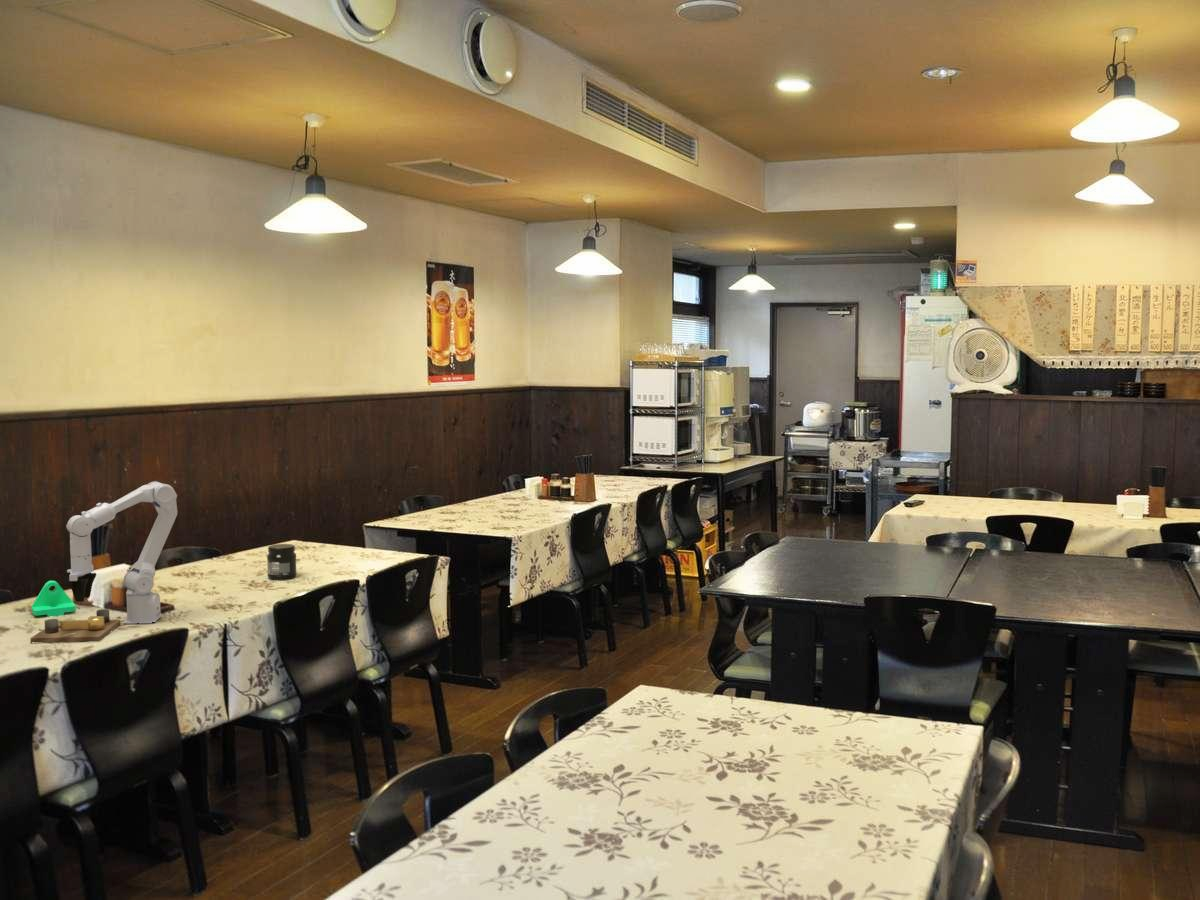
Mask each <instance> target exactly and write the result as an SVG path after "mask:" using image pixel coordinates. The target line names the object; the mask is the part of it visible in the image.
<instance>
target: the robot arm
mask: <svg viewBox="0 0 1200 900" xmlns="http://www.w3.org/2000/svg"><path fill="white" fill-rule="evenodd" d="M177 498H178V493H176V491H175V489H174V488H173V486H171V485H170V484H167V483H161V482H159V481H157V480H154V481H151V482H148V483H147V484H144V485H141V486H140V487H138V488H136V489H135V490H132V491H131V492H129V493H127V494H126V495H124V496H122V497H120V498H119V499H117V500H115V501H113V502H111V503H108V502H103V503H102V502H98V503H96V505H95V506H94V507H93V508H91V509H89V510H85V511H84V510H83V511H81V512H80V513H81V515H80V514H79V515H77V514H76V515H73V516H71V517H70V518H69V520H68V521H67V524H66V525H65V527H66V529H67V531H68V532H69V546H70V547H69V552H70V568H69V569H67V570H66V573H70V574H69V576H68V577H69V578H68V579H67V580H66V581H67V582H66V583H67V585H69V587H70V589H71V591H72V594H73V597H74V600H75V602H76V603H82V602H84V600H85V598H87V599H88V598H90V597H91V595H92V594H91V593H92V589H93V584H94V581H95V579H96V577H97V572H95V571H94V564H93V563H92V561H93V560H92V559H93V558H92V556H93V555H92V539H91V534H92V532H93V530H94V529H97V528H98V527H99V528H100V527H101V526H103V525H105V524H107V523H108V522H110V521H112V520H114V519H115V517H116V515H117V513H119V512H122V511H124V510H126V509H127V508H131V507H133V506H134V505H137V504H139V503H151V504H153V507H154V508H155V510H156V512H157V517H156V519H155V520H154V523H153V525H152V528H151V530H150V532H149V535H148V537H147V539H146V541H145V544H144V546H143V547H142V549H141V553H140V555H139V557H138V560H137V561H136V562H135V563H133V564H132V566H131V568H130V569H129V571H128V572H126V573H125V575H124V576H123V580H122V581H123V585H124V586H125V588H126V589H127V590H126V592H125V593H126V594H125V595H126V614H127V615H126V619H125V620H124V621H123V622H122V624H124V625H126V624H127V625H128V624H129V625H133V624H135V625H137V623H139V624H153V623H152V622H155V623H156V622H158V621H159V620H160V619H161V618H162V615H161V596H160V594H159V593H158V592H152V589H153V587H154V584H155V583H154V577H155V575H156V568H155V567H156V564H157V562H158V559H159V558H160V555H161V553H162V550H163V548H164V545H165V544H166V541H167V539H168V536H169V535H170V532H171V530H172V528H173V525H174V524H175V521H176V518H177V516H178V505H177ZM93 571H94V572H93ZM160 617H161V618H160ZM159 618H160V619H159Z"/></svg>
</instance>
